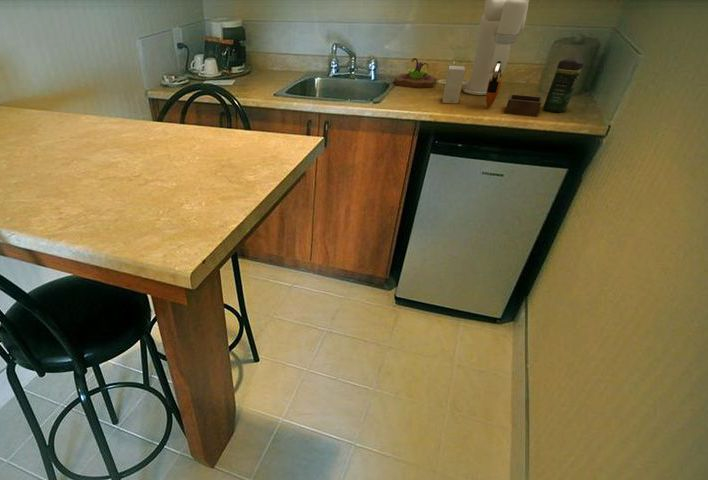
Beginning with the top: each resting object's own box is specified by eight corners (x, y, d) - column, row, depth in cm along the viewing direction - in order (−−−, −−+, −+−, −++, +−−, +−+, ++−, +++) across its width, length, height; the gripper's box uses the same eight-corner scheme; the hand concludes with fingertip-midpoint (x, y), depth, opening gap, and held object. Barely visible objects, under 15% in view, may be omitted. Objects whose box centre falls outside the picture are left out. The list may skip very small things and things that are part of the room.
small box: (458, 103, 171) (465, 69, 163) (442, 103, 172) (449, 68, 164) (457, 99, 177) (464, 66, 169) (442, 98, 178) (448, 65, 171)
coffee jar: (561, 113, 158) (581, 60, 147) (540, 110, 162) (557, 58, 151) (568, 109, 163) (588, 57, 152) (547, 105, 168) (565, 54, 157)
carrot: (492, 106, 167) (503, 65, 158) (496, 109, 164) (507, 68, 155) (480, 106, 168) (490, 65, 159) (483, 109, 164) (494, 68, 155)
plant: (398, 77, 213) (402, 53, 206) (437, 80, 207) (441, 56, 200) (390, 85, 199) (393, 60, 192) (431, 89, 193) (436, 62, 186)
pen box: (504, 112, 160) (508, 99, 157) (507, 107, 166) (511, 94, 163) (536, 116, 155) (541, 102, 152) (537, 110, 162) (542, 97, 159)
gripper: (498, 36, 159) (485, 85, 169) (492, 41, 146) (479, 94, 157) (519, 37, 156) (505, 86, 167) (515, 42, 144) (500, 96, 154)
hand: (492, 90), depth 162 cm, fingers open, 7 cm apart
